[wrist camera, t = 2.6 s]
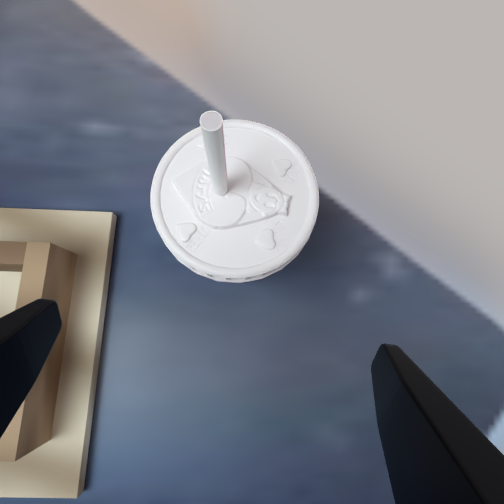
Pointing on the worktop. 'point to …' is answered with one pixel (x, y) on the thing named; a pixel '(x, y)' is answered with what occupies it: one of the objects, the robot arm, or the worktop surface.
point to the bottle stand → (55, 344)
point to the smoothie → (234, 199)
